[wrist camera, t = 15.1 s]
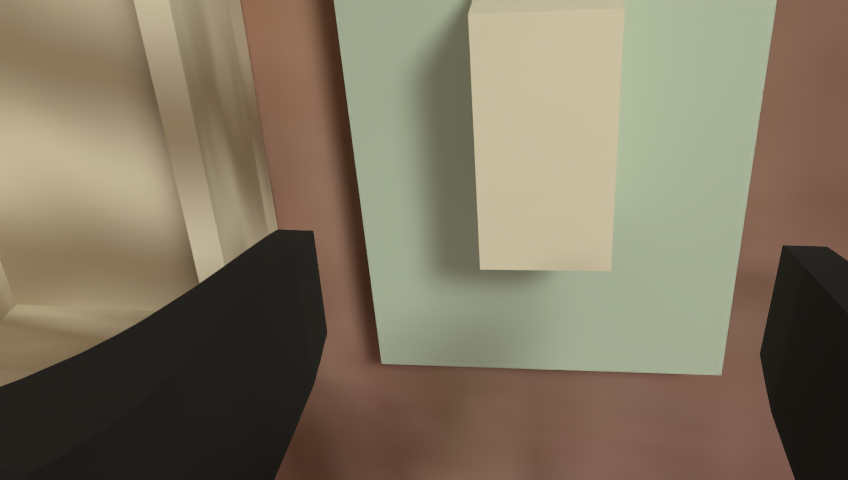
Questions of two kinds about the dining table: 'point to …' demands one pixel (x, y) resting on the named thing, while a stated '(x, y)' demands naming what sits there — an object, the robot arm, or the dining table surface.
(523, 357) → the lid
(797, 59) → the dining table surface
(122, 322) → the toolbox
